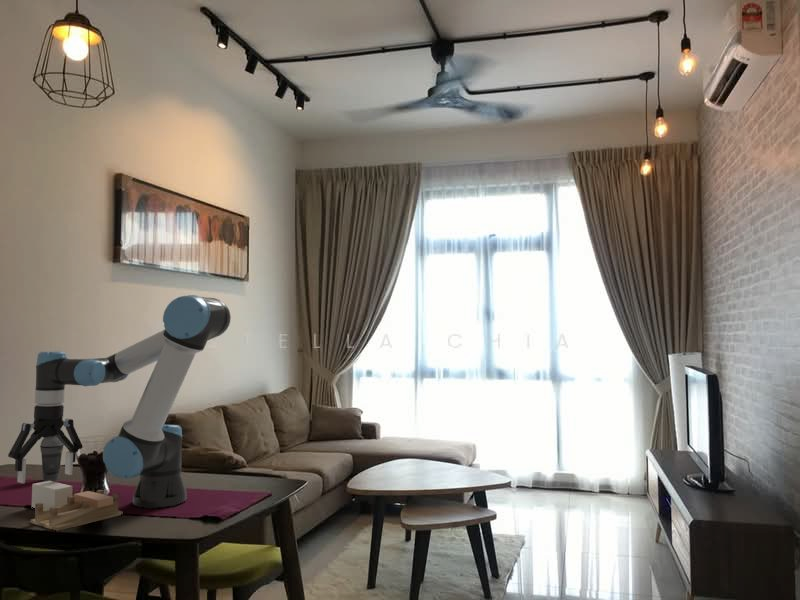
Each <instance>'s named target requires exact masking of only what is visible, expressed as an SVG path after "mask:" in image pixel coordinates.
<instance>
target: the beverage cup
mask: <svg viewBox="0 0 800 600" xmlns="http://www.w3.org/2000/svg"><path fill="white" fill-rule="evenodd" d="M39 447H40V448H39V449H40V453H41V468H42V477H43V480H44V481H43V482H46V481H53V482H56V481H58V480H59V475H60V472H61V471H60V470H61V463H62V455H63V451H64V450H63V449H64V447H65V445H64V444H63V443H62V442H61V441H60V440H59V439H58V437H57V436H53V437H51V436H49V437H45V438H43V437H42V439H41V442H40V446H39Z"/></svg>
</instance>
